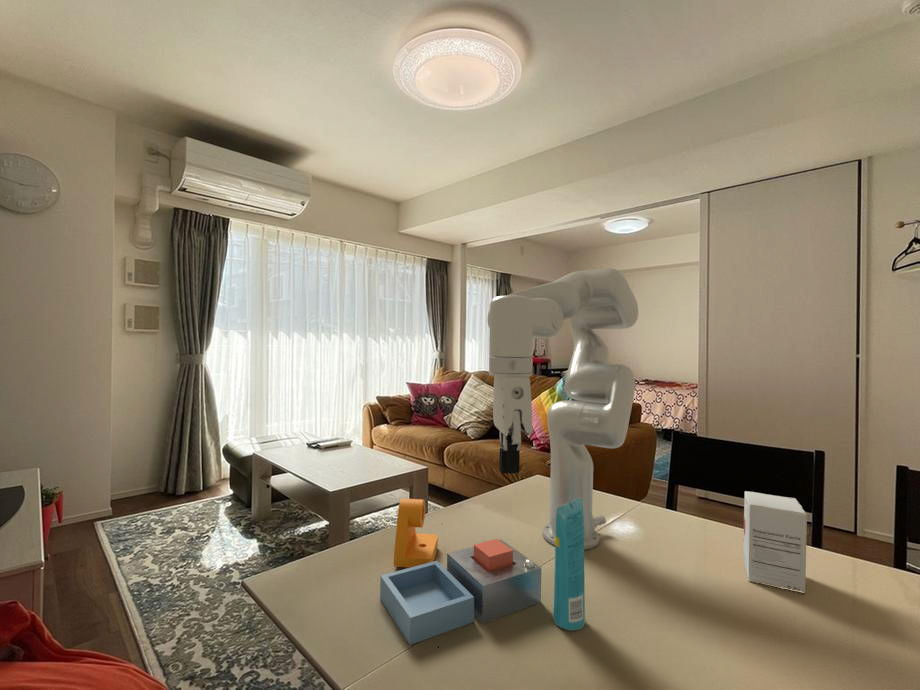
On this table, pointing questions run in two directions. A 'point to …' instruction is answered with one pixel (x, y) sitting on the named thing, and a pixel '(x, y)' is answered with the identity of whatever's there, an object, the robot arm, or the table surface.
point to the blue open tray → (426, 601)
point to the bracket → (413, 536)
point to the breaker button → (493, 555)
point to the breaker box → (497, 583)
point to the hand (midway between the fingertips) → (509, 471)
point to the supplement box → (775, 540)
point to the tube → (569, 567)
